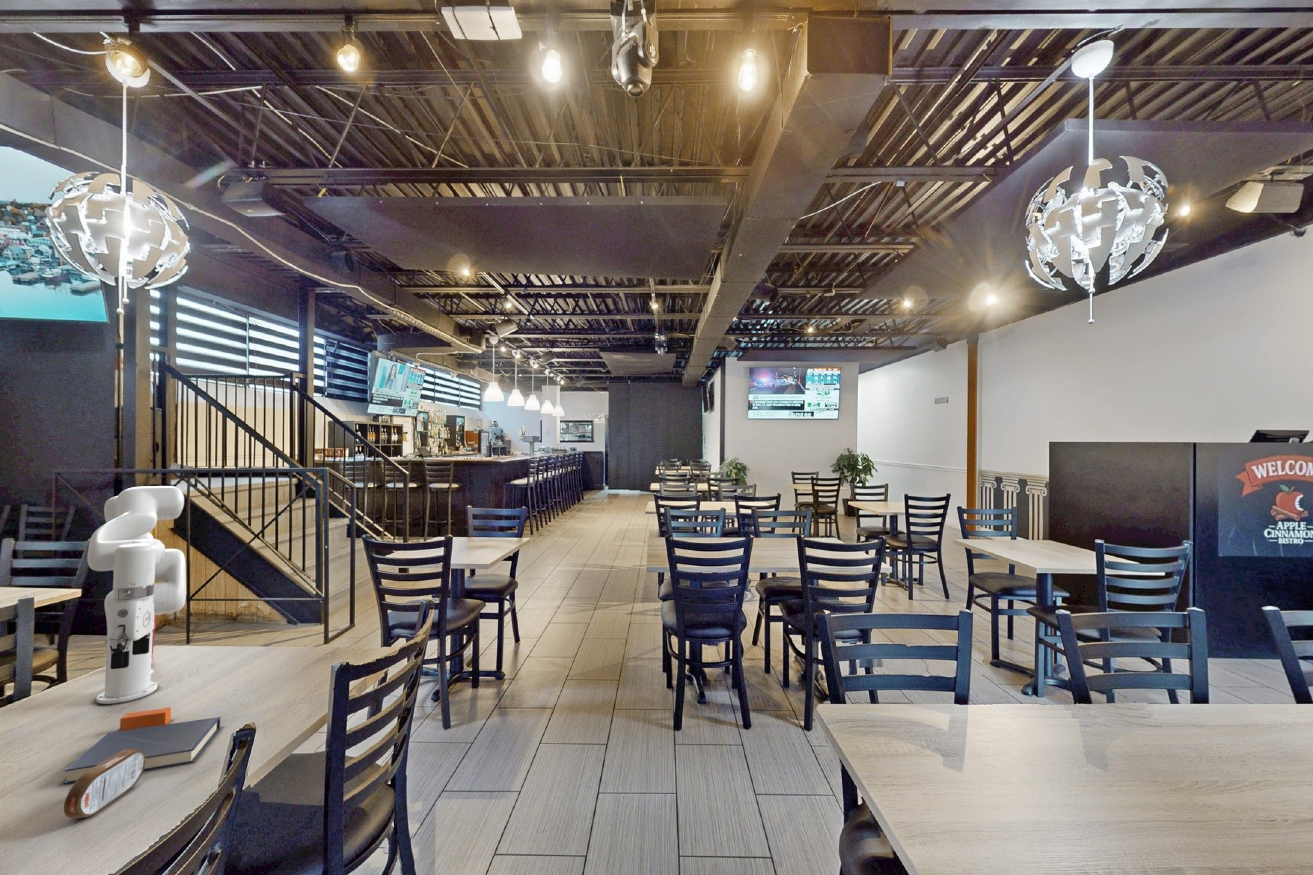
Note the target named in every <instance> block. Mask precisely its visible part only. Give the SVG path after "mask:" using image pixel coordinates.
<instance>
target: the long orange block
mask: <svg viewBox="0 0 1313 875" xmlns="http://www.w3.org/2000/svg"><path fill="white" fill-rule="evenodd" d="M171 713H172V707H165V708H164V707H163V708H156V709H148V710H140V711H133V712H127V713H125V714H124V715H123V716H122V717H120V719H119V731H126V730H133V729H140V728H146V727H153V726H160V725H167V724H170V722H171V716H172V714H171Z"/></svg>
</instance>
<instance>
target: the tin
mask: <svg viewBox="0 0 1313 875" xmlns="http://www.w3.org/2000/svg"><path fill="white" fill-rule="evenodd" d="M145 761H146V754H145V753H144V752H143V751H141V750H132V749H125V750H123V751H121V752H119V753H117V754H116V755H114V756H112V757H111V758H109V759H107V760H106V761H104V762H102V763H100V764H99V765H97V766H95V767H94V768H92V769H90V770H88V771H87V772H85V773H84V774H83V775H82V776H81V777H80V778H79V779H78V780H77V781H76V782H75V783H73V785H72V786H71V787H70V789H69V791H68V793H67V795H66V796H65V800H64V804H63V813H64V816H66V817H67V818H69V819H75V818H77V819H79V818H80V819H81V818H84V819H85V818H89V817H91V816H93V815H96V814H97V813H98V812H100V811H102V810H103V809H104V808H106V807H107V806H109V805H110V804H111V803H113V802H115V801H116V800H117V799H119V798H120V797H122V796H123V795H125V794H126V793H128V792H129V791H130V790H131V789H133V788H134V787H135V786H136V784H137V783H138V781H139V780H140V779H141V777H142V775H143V773H144V772H145V771H144V766H145Z"/></svg>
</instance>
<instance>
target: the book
mask: <svg viewBox="0 0 1313 875" xmlns="http://www.w3.org/2000/svg"><path fill="white" fill-rule="evenodd" d="M220 729H221V716H216V717H209V718H203V719H196V720H188V721H182V722H175V723H168V724H167V725H160V726H153V727H146V728H140V729H133V730H126V731H120V730H119V731H113V732H108V733H106V734H105V735H103V737H102V738H101V739H99V740H98V741H97V742H96V743H94V745H92V746H91V747H90V748H88V750H86V751H85V752H84V753H83V754H81V755H80V756H79V757H78V758H76V759H75V761H73V762H72V763H70V765H69V766H67V767H66V768H65V769H64V772H66V773H67V774H66V780H65V781H64V782H63V785H67V784H74V783H75V782H76V781H77V780H78V779H79V778H80V777H81V776H82V775H83V774H84V773H85V772H87V771H88V770H90V769H92V768H94V767H95V766H97V765H99V764H100V763H102V762H104V761H106V760H107V759H109V758H111V757H112V756H114V755H116V754H117V753H119V752H121V751H123V750H125V749H132V750H141V751H143V752H144V753H145V754H146V761H145V766H144V771H143V772H145V771H151V770H157V769H163V768H168V767H175V766H180V765H187V764H192V763H194V762H195V761H196V760H197V758H198V757H199V756H200V755H201V753H202V752H203V751H204V749H205V748H206V747H207V746H208V745H209V743H210V742H211V741H212V740H213V738H214V737H215V736H216V734H217V733H218V732H219V731H220Z"/></svg>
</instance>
